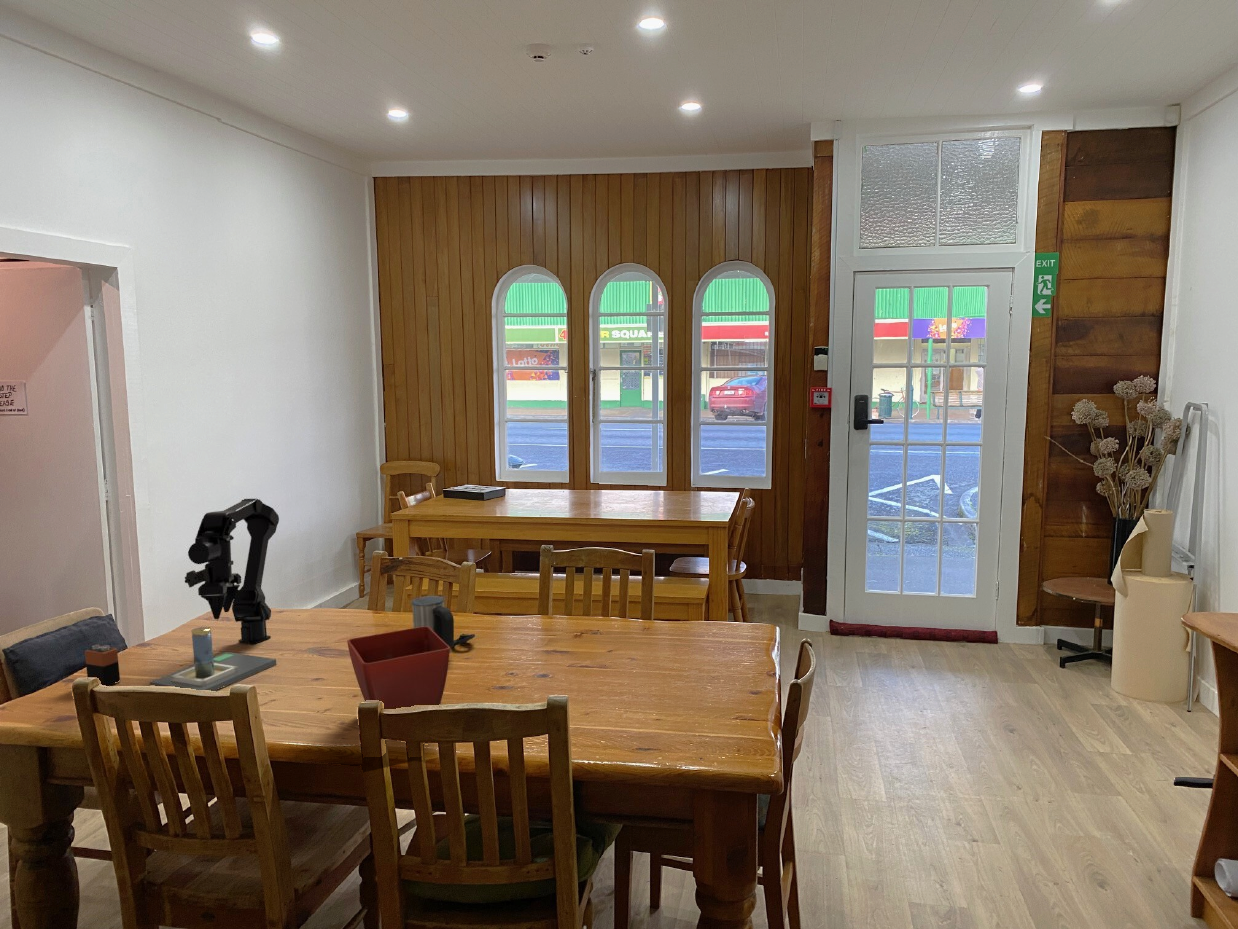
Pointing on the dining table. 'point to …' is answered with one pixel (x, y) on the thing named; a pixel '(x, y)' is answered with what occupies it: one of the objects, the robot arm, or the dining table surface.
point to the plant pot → (401, 667)
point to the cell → (203, 652)
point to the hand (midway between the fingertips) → (221, 615)
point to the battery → (103, 664)
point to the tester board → (218, 672)
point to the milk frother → (436, 619)
